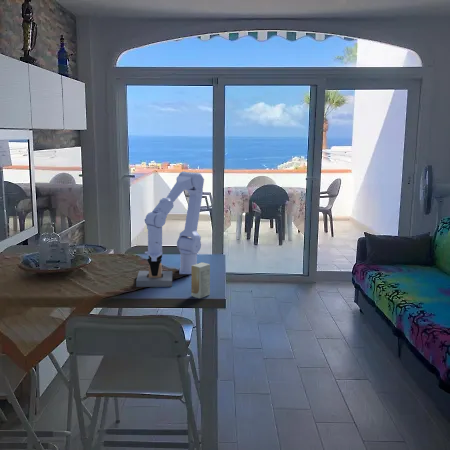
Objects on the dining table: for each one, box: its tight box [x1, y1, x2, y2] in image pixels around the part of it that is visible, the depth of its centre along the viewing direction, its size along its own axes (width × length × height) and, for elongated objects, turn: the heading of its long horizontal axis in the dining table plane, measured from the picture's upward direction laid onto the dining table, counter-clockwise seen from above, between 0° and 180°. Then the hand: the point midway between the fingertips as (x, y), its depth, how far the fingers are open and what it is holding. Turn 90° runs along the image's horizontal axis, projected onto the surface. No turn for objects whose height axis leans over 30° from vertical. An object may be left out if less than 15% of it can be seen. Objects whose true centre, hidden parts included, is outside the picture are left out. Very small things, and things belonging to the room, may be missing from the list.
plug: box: [148, 262, 163, 278], centre depth 198 cm, size 4×5×8 cm
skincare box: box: [190, 261, 211, 299], centre depth 182 cm, size 6×4×12 cm
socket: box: [135, 270, 173, 288], centre depth 198 cm, size 14×14×2 cm
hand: (155, 274), depth 198 cm, fingers closed on plug, 4 cm apart
